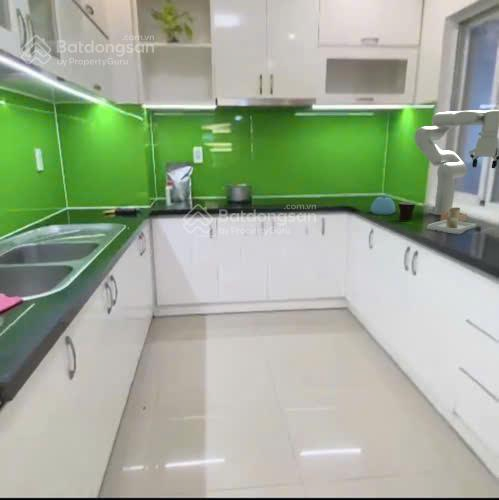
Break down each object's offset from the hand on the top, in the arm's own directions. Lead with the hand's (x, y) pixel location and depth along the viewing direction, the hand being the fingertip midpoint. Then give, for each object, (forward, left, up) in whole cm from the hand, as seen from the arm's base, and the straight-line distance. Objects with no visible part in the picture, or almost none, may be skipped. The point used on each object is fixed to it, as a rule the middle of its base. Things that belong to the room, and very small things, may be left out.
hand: (483, 167), depth 210 cm
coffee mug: (-27, -29, -30) cm, 49 cm away
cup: (-7, -13, -30) cm, 33 cm away
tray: (0, -30, -30) cm, 42 cm away
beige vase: (0, -30, -29) cm, 41 cm away
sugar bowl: (-50, -15, -30) cm, 60 cm away
